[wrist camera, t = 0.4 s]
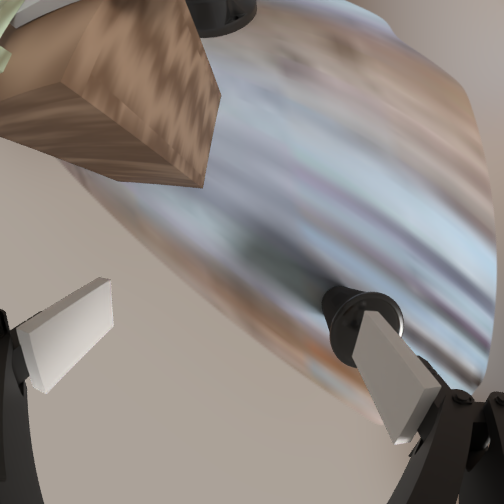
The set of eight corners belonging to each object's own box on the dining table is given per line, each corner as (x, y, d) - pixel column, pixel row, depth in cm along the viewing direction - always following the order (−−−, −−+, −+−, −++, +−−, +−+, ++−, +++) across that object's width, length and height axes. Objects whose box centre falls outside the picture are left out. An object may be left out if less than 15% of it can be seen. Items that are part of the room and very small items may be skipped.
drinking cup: (307, 327, 39) (336, 400, 19) (315, 273, 38) (356, 303, 18) (359, 331, 38) (421, 396, 18) (367, 278, 38) (444, 308, 18)
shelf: (140, 95, 40) (15, -31, 6) (221, 95, 39) (145, -94, 5) (118, 181, 40) (-71, 112, 7) (202, 188, 39) (18, 52, 6)
